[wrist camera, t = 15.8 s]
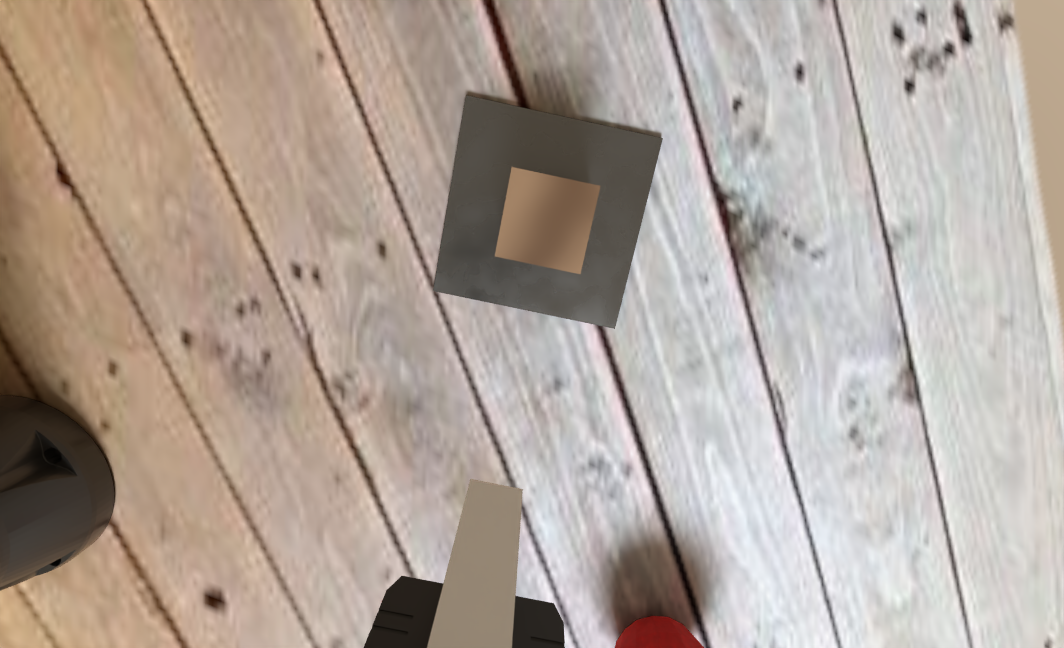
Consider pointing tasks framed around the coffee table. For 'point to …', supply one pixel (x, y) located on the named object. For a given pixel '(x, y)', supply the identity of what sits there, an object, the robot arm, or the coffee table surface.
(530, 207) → the tan wooden block
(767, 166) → the coffee table surface
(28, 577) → the robot arm
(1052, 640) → the coffee table surface
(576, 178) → the grey square base plate
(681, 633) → the apple
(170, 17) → the coffee table surface
